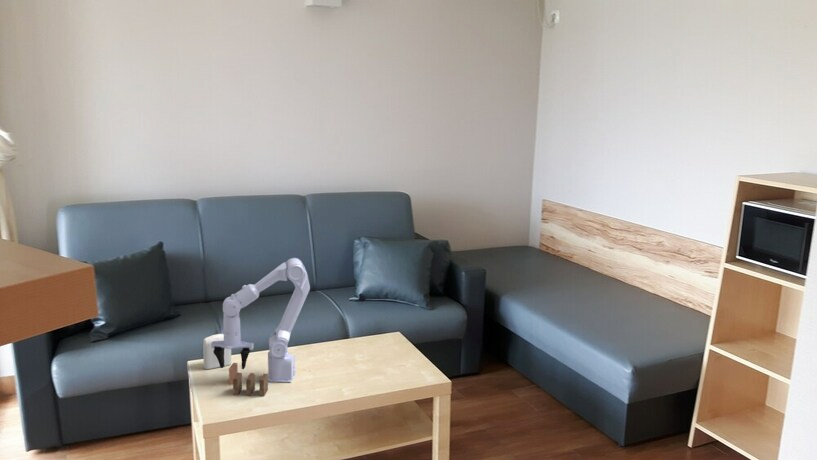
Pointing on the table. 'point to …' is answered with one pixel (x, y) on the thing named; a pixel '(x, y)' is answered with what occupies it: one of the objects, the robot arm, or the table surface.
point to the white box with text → (209, 355)
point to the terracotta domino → (232, 372)
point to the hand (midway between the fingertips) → (232, 367)
